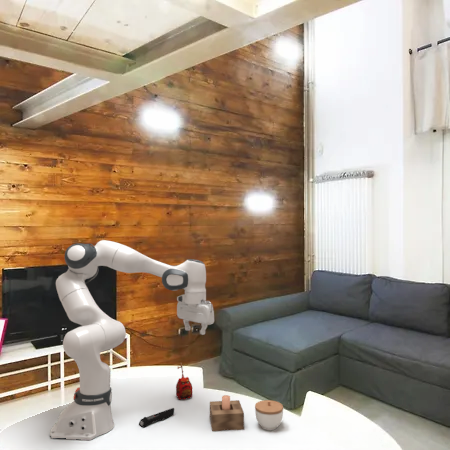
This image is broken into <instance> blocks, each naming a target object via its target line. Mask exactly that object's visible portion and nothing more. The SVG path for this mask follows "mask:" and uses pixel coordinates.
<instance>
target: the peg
mask: <svg viewBox="0 0 450 450" xmlns="http://www.w3.org/2000/svg"><path fill="white" fill-rule="evenodd" d="M221 401H222V410H230V401H231V396H230V395H226V394H225V395H222V396H221Z"/></svg>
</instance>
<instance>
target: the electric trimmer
mask: <svg viewBox="0 0 450 450" xmlns="http://www.w3.org/2000/svg"><path fill="white" fill-rule="evenodd" d="M174 414H175V408H174V407H171V408H169V409H166V410H162V411H160V412H157V413H154V414H152V415H148V416H144V417H143V418H141V419H140V420H139V422H138V426H139V427H141V428H142V429H143V428H147V426H149V425H151V424H154V423H156V422H159V421H164V420H166V419H168V418H169V417H171V416H173V415H174Z"/></svg>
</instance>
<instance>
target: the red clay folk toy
mask: <svg viewBox="0 0 450 450" xmlns="http://www.w3.org/2000/svg"><path fill="white" fill-rule="evenodd" d="M183 367H184V364H182V362H180V365H179V366H177V370H179V369H180V368H181V377H180V378H178V380H177V382H176V385H175V395H176V396H175V397H176V398H177V399H178V401H180V400H181V401H183V400H190V399H192V397H193V392H194V391H193V384H192V382H191V380H190V378H189V377H188V376H186V377H185V375H184V370H183V369H184V368H183Z"/></svg>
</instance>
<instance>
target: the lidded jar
mask: <svg viewBox="0 0 450 450" xmlns="http://www.w3.org/2000/svg"><path fill="white" fill-rule="evenodd" d="M254 408H255V409H254V410H255V411H254V412H255V418H256V421H257V423H258V425H260V426H261V428H262V429H264V430H266V431H274V430H276V429H277V428H278V427H279V426H280V424H281V423H282V421H283V418H284V416H283V415H284V406H283V404H282V403H280V401H276V400H272V399H270V400H269V399H268V400H267V399H265V400H259V401H257V402H256V403H255V405H254Z"/></svg>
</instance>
